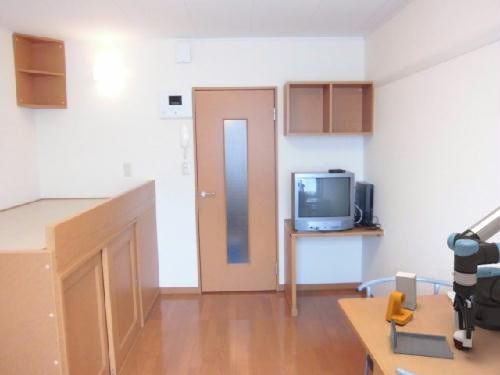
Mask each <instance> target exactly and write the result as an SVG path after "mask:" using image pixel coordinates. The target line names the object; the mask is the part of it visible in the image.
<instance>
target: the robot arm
mask: <svg viewBox="0 0 500 375" xmlns="http://www.w3.org/2000/svg"><path fill="white" fill-rule="evenodd" d="M499 232H500V205H499V206H497V208H495V209H494V210H492V211H491V212H489V213H488V214H487V215H485V216H484V217H482V218H481V219H480V220H478V221H477V222H475V223H474V224H473V225H471V226H470V227H469V228H467V229H466V230H464V231H463V232H462V233H460V232H453V233H450V234H449V235H448V237H447V240H446V244H447V246H448V248H449V249H450V251H453V272H451V276H452V277H453V280H454V281H452V291H453V292H454V298H453V303H452V307H453V310H454V311H453V328H454V329H459V321H458V310H460V311H462V312H463V321H464V328H462V329H463V346H465V347H470V348H473V332H476V328H475V327H479V328H483V329H484V330H485V329H486V330H493V331H500V267H497V266H486V265H497V264H500V242H487V241H488V240H489V239H491V238H492V237H494V236H495V235H496V234H497V233H499ZM478 266H479V267H478ZM471 297H472V298H471Z"/></svg>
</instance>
